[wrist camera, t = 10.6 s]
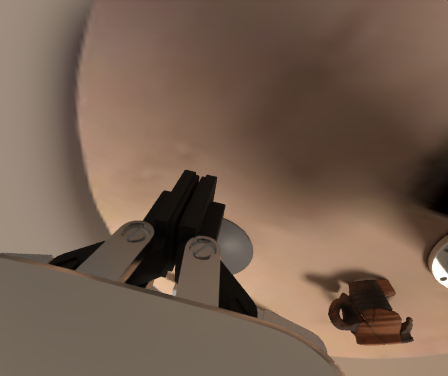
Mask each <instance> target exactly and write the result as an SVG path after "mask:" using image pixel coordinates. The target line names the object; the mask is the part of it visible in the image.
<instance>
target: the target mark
mask: <svg viewBox="0 0 448 376" xmlns="http://www.w3.org/2000/svg"><path fill="white" fill-rule="evenodd" d="M217 243H218V244H219V246H220V250H221V254H220V256H221V261H222V262H223V263H224V265H225V266H226V267H227V269H228V270H229V271H230V272H231V274H232V275H233V274H236V273H238V272H240V271H242V270H243V269H245V268H246V267H247V266H248V265H249V263H250V261H251V259H252V255H253V247H252V243H251V241H250V239H249V237H248V236H247V234H246V233H245V232H244V231H243V230H242V229H241V228H240V227H238V226H237V225H236V224H234V223H232V222H231V221H228V220H226V219H223V220H222V224H221V228H220V232H219V236H218V240H217Z"/></svg>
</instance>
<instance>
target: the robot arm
mask: <svg viewBox="0 0 448 376" xmlns="http://www.w3.org/2000/svg"><path fill="white" fill-rule="evenodd" d="M216 182H217V177H215V176H211V175H206V177H203V176H202V177H201V179H200V182H199V176H198V175H196V172H193V171H189V170H185V171H184V172H183V174H182V175H181V177H180V179H179V180H178V182H177V183H176V185H175V186H174V188H173V190H172V191H171V192H170V191H165V190H164V191H163V192H162V193H161V195H160V196H159V198H158V199H157V201H156V202H155V204H154V205H153V207H152V208H151V209H150V211H149V212H148V214H147V215H146V217H145V218H144V220H143V221H131V222H128V223H125V224H124V225H122V226H121V227H120V228H119V229H118V230H117V231H116V232H115V233H114V234H113V235H112V236H111V237H110V238H109V239H108V240H106V241H103V242H99V243H96V244H93V245H90V246H87V247H84V248H80V249H77V250H74V251H71V252H67V253H64V254H62V255H59V256H57V257H56V258H53V256H52V255H40V254H16V253H0V376H345V374H344V373H343V371H342V370H341V368H340V367H339V366H338V365H337V364H336V363H335V361H333V359H332V358H331V357H329V356H328V355H327V349H326V347H325V345H324V343H323V341H322V340H321V339H320V338H319V336H317V335H316V334H314V333H313V332H311V331H309V330H307V329H305V328H303V327H301V326H299V325H297V324H295V323H293V322H291V321H289V320H287V319H285V318H283V317H281V316H279V315H277V314H275V313H273V312H271V311H269V310H267V309H265V311H263V310H261V309H259V308H257V307H256V305H255V303H254V302H253V300H252V299H251V298H250V296H249V295H248V294H247V293H246V291H245V290H244V289H243V288H242V286H241V285H240V284H239V282H238V281H237V280H236V279H235V277H234V276H233V275H232V274H231V272H230V271H229V270H228V269H227V267H226V266H225V265H224V263H223V262H222V261H221V260H220V254H221V250H220V246H219V244H218V243H217V240H218V236H219V232H220V228H221V224H222V220H223V215H224V210H225V204H221V203H217V202H213V200H214V194H215V188H216ZM174 266H175V281H176V283H177V285H178V286H177V291H176V296H172V295H169V294H165V293H160V292H157V291H153V290H150V288H151V287H152V285H153V283H154V279H156V278H159V277H166V275H167V273H168V271H171V272H172V271H173V268H174ZM428 266H429V270H430V271H431V273H432V275H433V276H434V278H435V279H436V280H437V281H438V282H439V283H440V284H442V285H443V286H445V287H447V288H448V235H447V236H445V237H444V238H442V239H441V240H440V241H439V242H438V243H437V244H436V245H435V247H434V248H433V249H432V251H431V253H430V255H429V258H428Z"/></svg>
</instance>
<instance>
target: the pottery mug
mask: <svg viewBox="0 0 448 376" xmlns="http://www.w3.org/2000/svg"><path fill="white" fill-rule="evenodd" d="M348 285H349V296H348V295H347V294H345V293H342V294H341V296H340V298H338V299H335V300H334V301H333V302H332V303H331V305H330V307H329V313H328V315H329V318H330V320H331V322H332V324H333V325H334V326H335V327H336V328H338V329H340V330H350V331H351V332H352V333H353V334H354V335H355V337H356V342H357V344H360V345H386V344H399V343H408V342H412V341H414V340H413V337H411V334H410V331H411V329H412V326H413V324H412V321H413V320H412V319H411V318H410V317H407V318H406V322H404V323H401V321H402V319H401V317H400V316H399V314H398V313H396V312H394V311H392V308H391V306H390V304H389V303H388V301H387V299H386V298H385V297H387V296H391V295H393V296H394V295H395V294H396V293H395V291H394V289H393V288H392V286H391V284H390V283H389V281H388V280H385V279H382V280H381V279H380V280H364V281H357V282H352V283H349V284H348ZM340 309H341V310H342V312H343V313H342V315H343V320H342V319H341V318H340V314H339V312H340ZM361 315H362V316H363V317H362V316H361ZM364 319H365V320H364Z"/></svg>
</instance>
